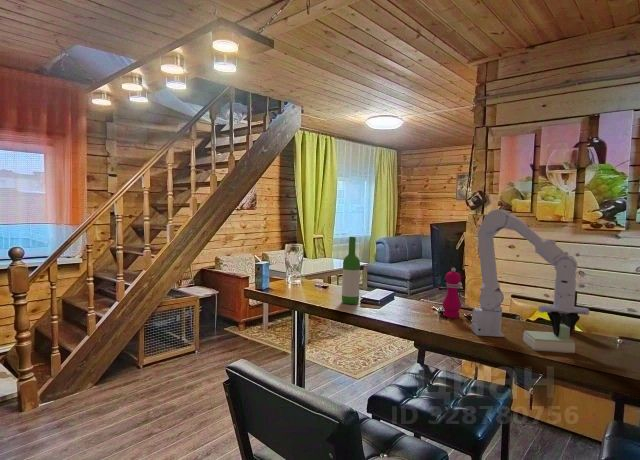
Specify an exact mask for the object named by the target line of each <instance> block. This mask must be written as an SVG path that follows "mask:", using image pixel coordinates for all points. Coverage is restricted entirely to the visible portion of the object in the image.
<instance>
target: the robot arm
mask: <svg viewBox="0 0 640 460" xmlns="http://www.w3.org/2000/svg"><path fill="white" fill-rule="evenodd" d="M502 229H506V230H511V231H515V232H516V233H517V234H519V235H520V236H522V238H525V240H527V241H528V242H529V243H530V244H531V245H533V246H534V248H535V249H534V250H535V253H537V254H538V256H539V257H541V258H542V259H544V261H546V262H547V263H548V264H549V265H551V266H553V267H554V270H555V272H556V273H555V278H554V290H553V291H554V292H553V293H554V294H553V304H550V305H548V304H547V305H546V304H545V305H540V304H539V305H538V309H537V310H538V312H539V313H541V314H543V313H546V314H547V316H548V318H549V320H550V323H551V326H552V332H554V335H556V336H559V329H560V322H561V319H562V317H561V316H560V314H559V313H564V316H565V325H566V326H568V327H570V336H571V334H572V333H571V332H572V330H573V328H574V326H575V327H576V324H577V323H578V321H580V317H581V316H580V315H585V316H589V315H590V309H589V308H587V307H581V306H576V307H574V302H575V291H576V285H577V281H576V278H577V275H576V271H577V269H578V266H579V265H578V261H577V260H576V258H575V257H574V256H573V255H569V254H570V253H569V252H568V251H564V250H563V249H562V248H560V246H558V245H557V242H556V241H555V240H551V239H549V238H545V239H543V238H541V236H539V235H538V234H537V233H536V232H535V231H534V230H533V229H531V227H529V226H528V225H527V224H526V223H525V222H523V220H521V219H520V218H519V217H518V216H516V215H515V214H511V212H510V211H508V210H506V209H500V208H499V209H496V208H495V209H492V210H491V211H489V212H488V213H487V214H486V215H484V217H483V221H482V223H481V224H480V226H479V228H478V230H477V243H478V252H479V261H480V272H481V274H480V275H481V285H480V295H479V297H478V303H479V307H473V308H472V314H471V327H470V329H471V331H472V332H473V333H474V334H475V336H483V337H498V338H505V335H504V334H503V332H502V331H501V330H502V318H503V317H502V315H503V308H502V306H501V305H502V303H503V302H504V300H505V299H504V298H505V297H504V293H503V292H502V290H501V285H500V283H499V281H498V274H497V262H496V251H495V242H494V237H495V236H496V235H497V234H498V233H499V232H500V230H502Z"/></svg>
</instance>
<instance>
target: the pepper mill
mask: <svg viewBox="0 0 640 460" xmlns="http://www.w3.org/2000/svg"><path fill="white" fill-rule="evenodd" d="M456 269H457V268H455V267H451V270H450V271H448V272H447V273H446V274H445V281H446V287H447V291H446V295H445V297H444V299H443V301H442V308H443V309H444V310H443V312H442V313H443V314H444V315H443V314H442V315H443V316H444V317H445V316H446V317H445V318H449V319H458V318H460V313H461V312H459V311H460V310H461V308H462V303H461V302H462V301H461V300H460V297H459V293H458V290H459V288H460V282H461V280H462V276H461V274H460V273H459V272H457V271H456Z"/></svg>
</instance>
